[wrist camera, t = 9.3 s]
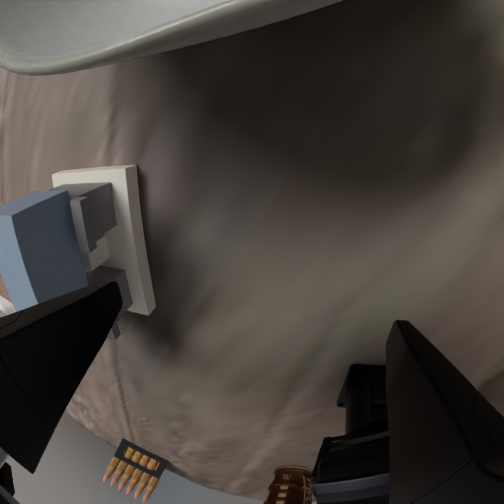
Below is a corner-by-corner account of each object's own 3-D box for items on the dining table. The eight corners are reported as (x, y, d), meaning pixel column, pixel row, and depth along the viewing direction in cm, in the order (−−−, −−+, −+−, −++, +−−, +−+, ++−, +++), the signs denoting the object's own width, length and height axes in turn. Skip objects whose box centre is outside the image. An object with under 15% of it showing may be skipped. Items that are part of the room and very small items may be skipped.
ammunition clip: (123, 440, 48) (99, 480, 37) (122, 438, 47) (98, 479, 36) (167, 462, 47) (147, 505, 37) (168, 460, 46) (147, 504, 36)
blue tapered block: (104, 332, 21) (70, 371, 17) (69, 320, 22) (36, 353, 18) (67, 189, 16) (11, 215, 12) (33, 191, 17) (-16, 214, 12)
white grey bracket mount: (156, 306, 26) (121, 350, 20) (88, 290, 28) (51, 323, 22) (136, 164, 20) (80, 184, 15) (63, 170, 22) (11, 189, 16)
